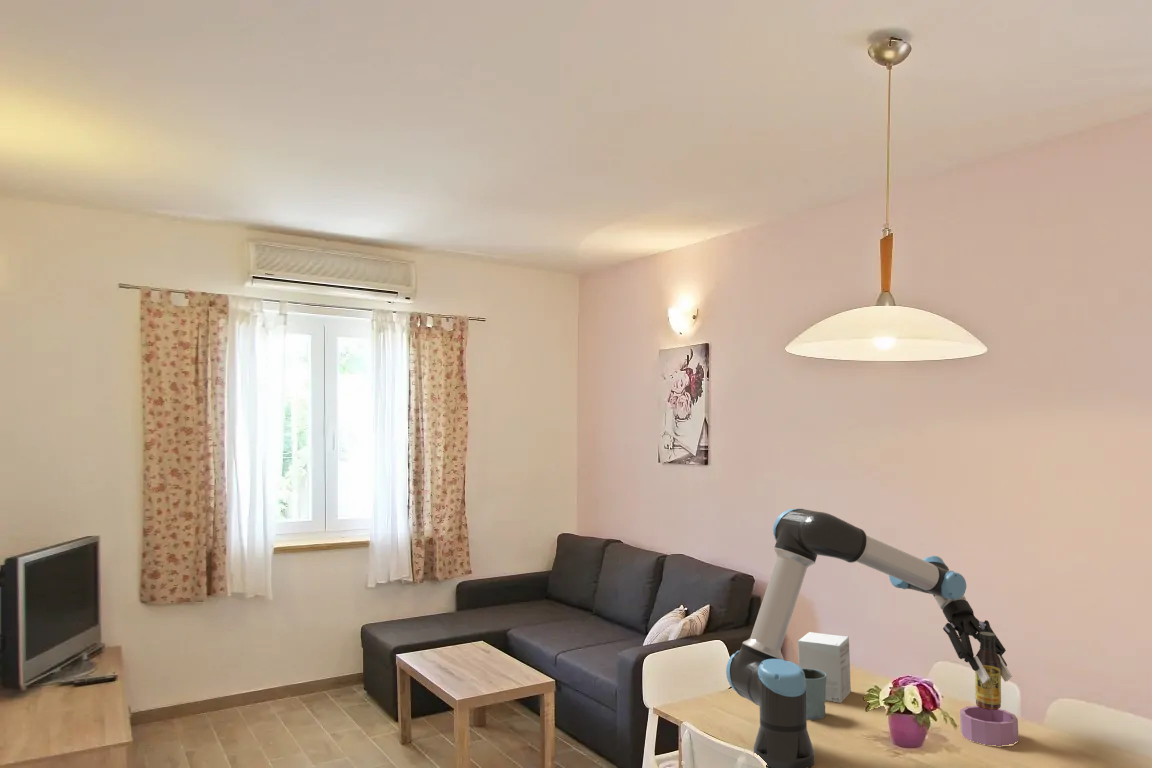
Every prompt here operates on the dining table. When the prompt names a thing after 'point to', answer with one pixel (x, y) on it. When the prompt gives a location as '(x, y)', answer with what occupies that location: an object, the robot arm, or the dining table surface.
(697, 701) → the dining table surface
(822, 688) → the teal cup
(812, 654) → the supplement box
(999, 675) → the sauce bottle
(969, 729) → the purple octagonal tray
